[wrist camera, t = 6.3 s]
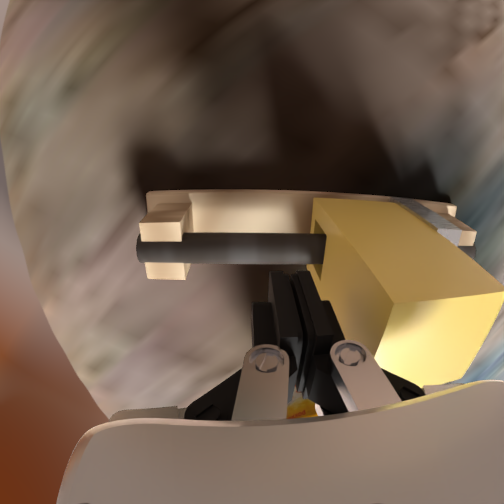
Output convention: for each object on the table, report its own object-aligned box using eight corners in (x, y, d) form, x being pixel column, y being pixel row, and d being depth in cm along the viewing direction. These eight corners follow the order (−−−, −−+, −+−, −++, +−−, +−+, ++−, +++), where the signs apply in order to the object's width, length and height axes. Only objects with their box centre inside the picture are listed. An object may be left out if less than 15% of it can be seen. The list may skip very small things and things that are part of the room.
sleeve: (395, 202, 18) (508, 290, 8) (382, 266, 20) (461, 378, 10) (313, 197, 18) (394, 303, 7) (306, 267, 20) (353, 403, 10)
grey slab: (412, 198, 19) (461, 230, 13) (398, 263, 21) (436, 308, 15) (390, 196, 19) (438, 228, 13) (377, 263, 21) (413, 310, 15)
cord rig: (451, 203, 20) (487, 224, 15) (438, 256, 22) (468, 284, 17) (149, 191, 19) (122, 213, 14) (156, 255, 21) (136, 290, 17)
